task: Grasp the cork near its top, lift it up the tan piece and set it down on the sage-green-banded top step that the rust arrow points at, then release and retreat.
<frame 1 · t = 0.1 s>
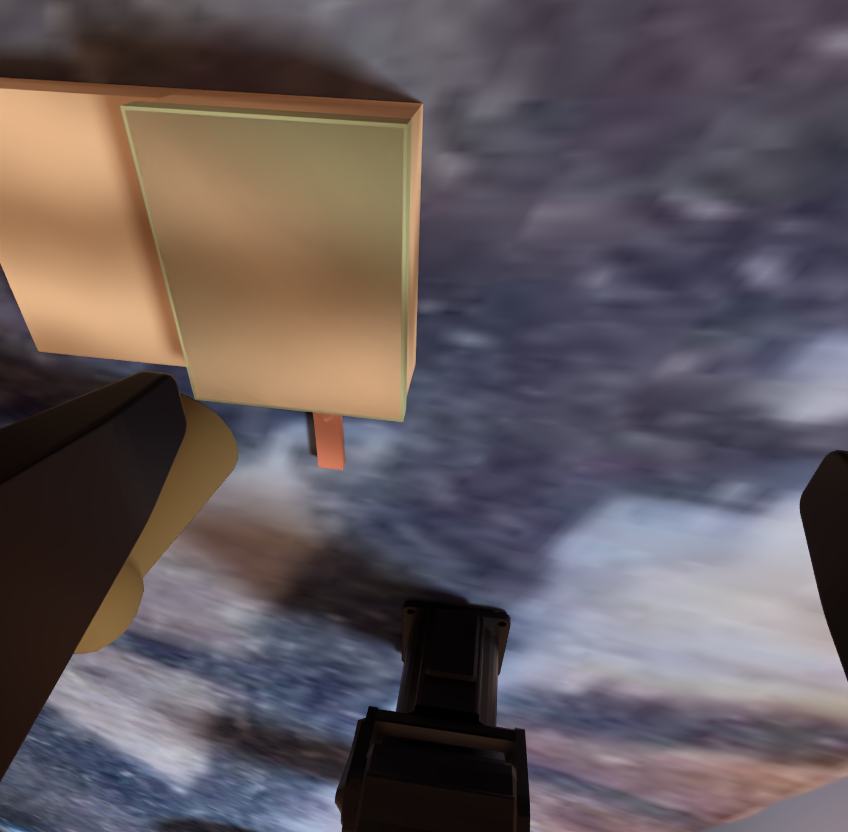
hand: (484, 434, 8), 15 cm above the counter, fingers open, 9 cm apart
tan piece: (215, 234, 22), on the counter
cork: (182, 437, 30), on the counter
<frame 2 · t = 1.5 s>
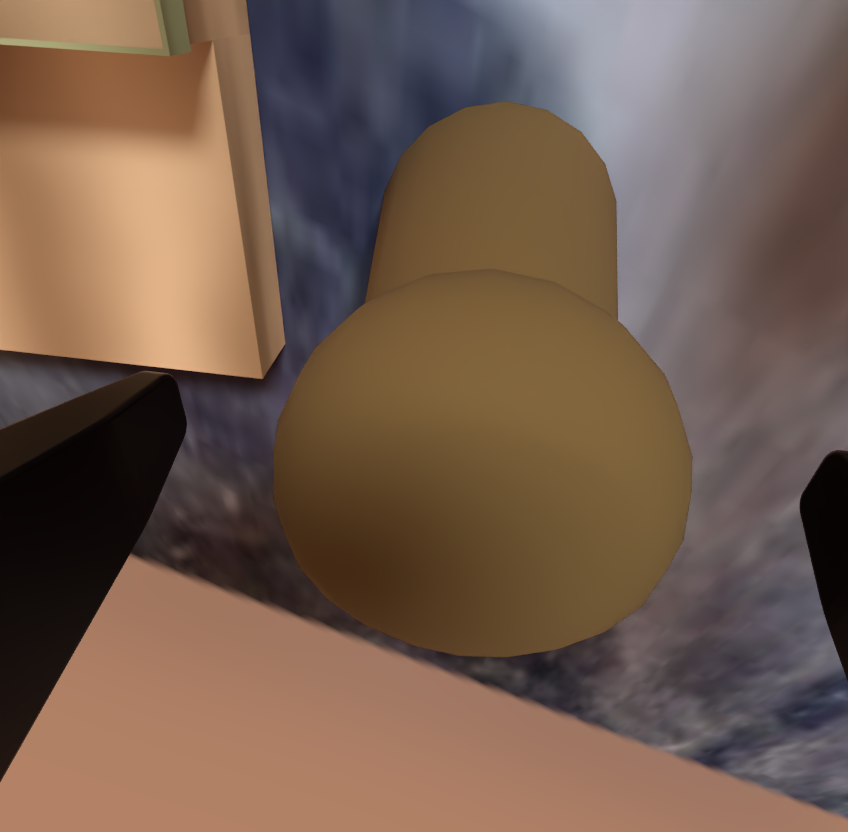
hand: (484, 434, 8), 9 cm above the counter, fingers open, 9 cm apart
tan piece: (40, 19, 13), on the counter
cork: (495, 230, 15), on the counter
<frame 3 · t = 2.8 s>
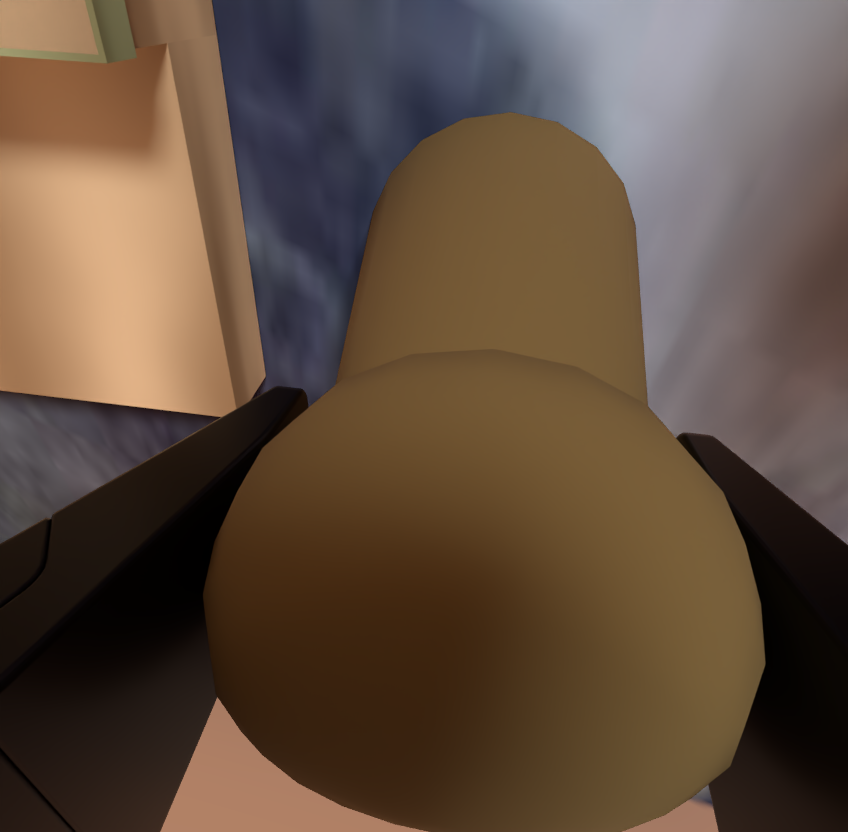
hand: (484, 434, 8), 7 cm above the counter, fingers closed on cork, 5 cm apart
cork: (497, 255, 13), on the counter, touching gripper
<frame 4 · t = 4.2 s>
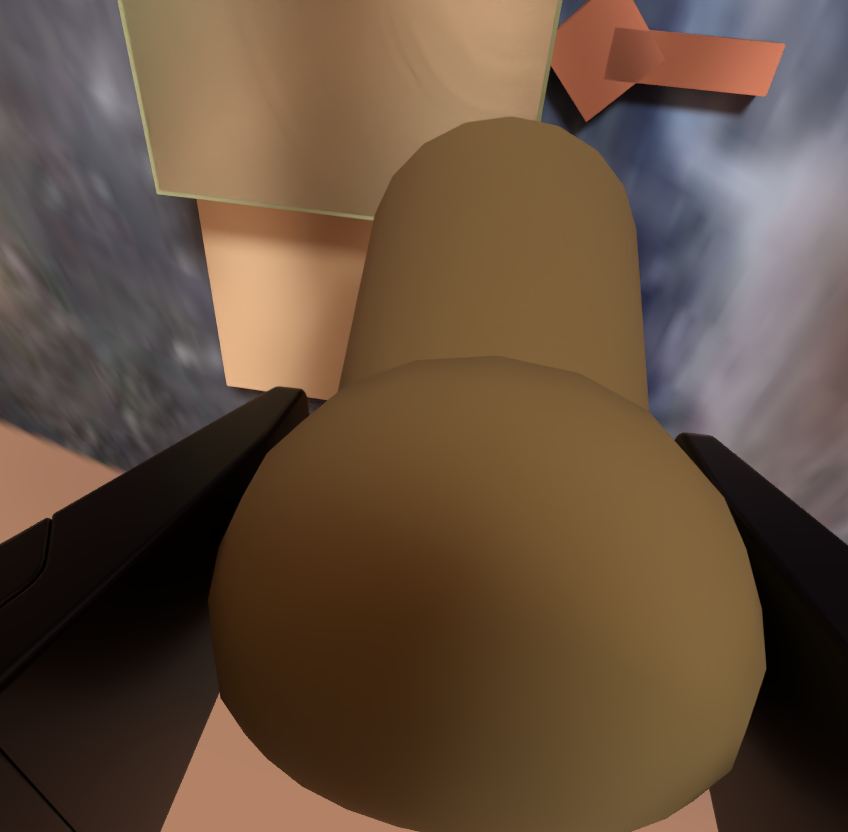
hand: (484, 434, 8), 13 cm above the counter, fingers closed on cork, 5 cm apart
tan piece: (365, 173, 19), on the counter
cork: (499, 258, 13), point 6 cm above the counter, touching gripper
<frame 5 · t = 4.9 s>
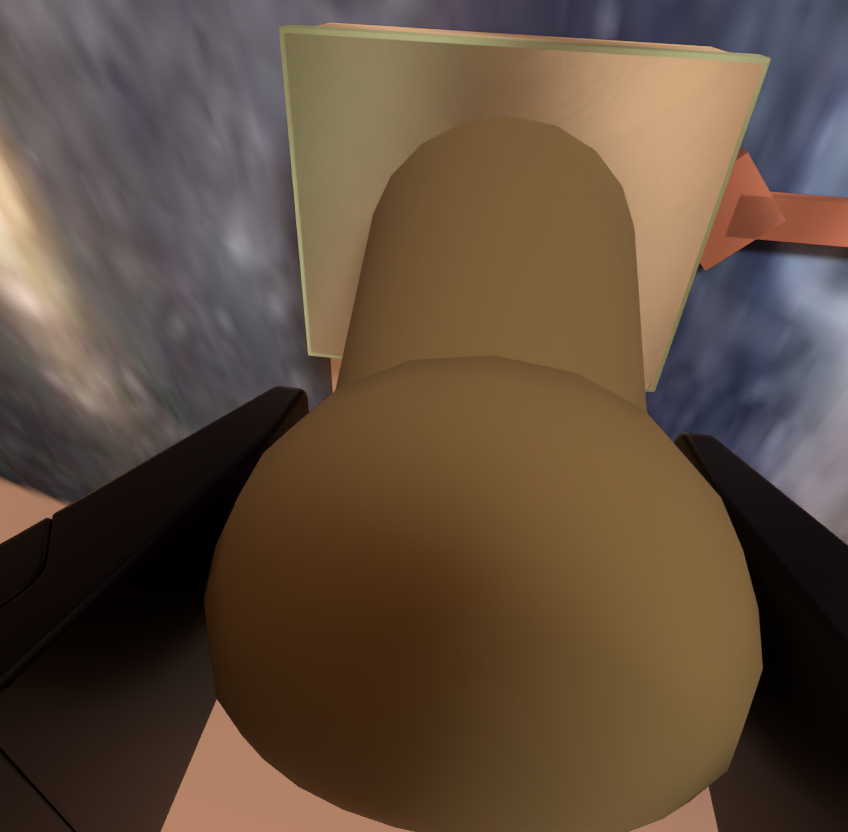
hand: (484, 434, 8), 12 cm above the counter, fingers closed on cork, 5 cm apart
tan piece: (483, 309, 20), on the counter
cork: (497, 258, 13), point 5 cm above the counter, touching gripper
when the fingers open (12 cm above the counter, at t = 5.7 s): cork drops 1 cm, resting on tan piece.
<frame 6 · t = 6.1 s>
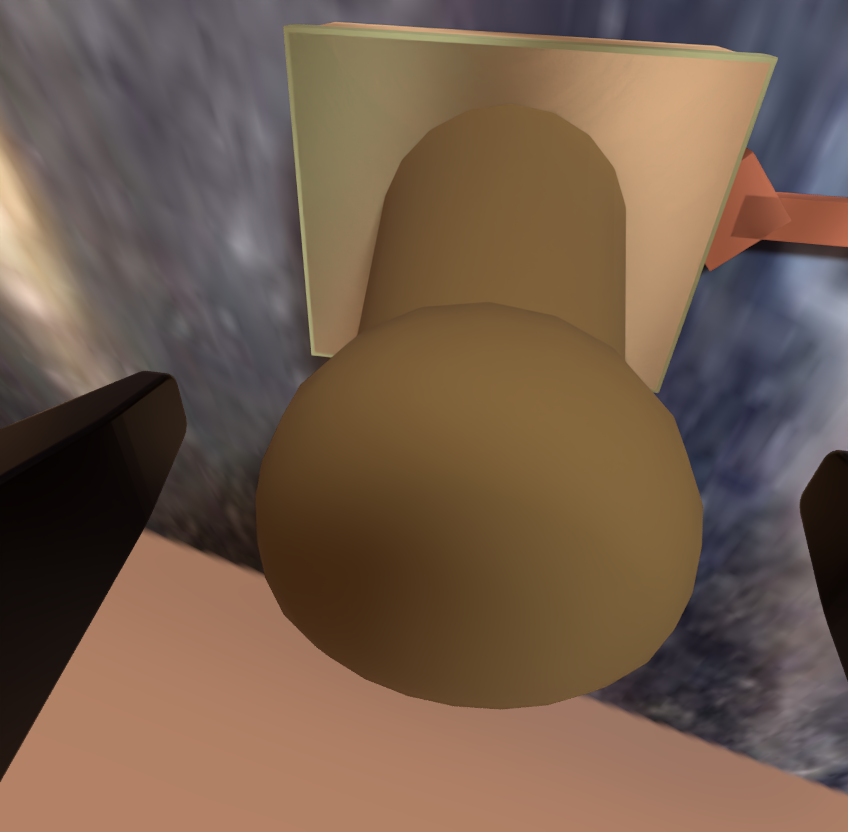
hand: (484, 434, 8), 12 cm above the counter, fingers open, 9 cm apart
tan piece: (487, 309, 20), on the counter
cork: (499, 236, 15), point 4 cm above the counter, touching tan piece
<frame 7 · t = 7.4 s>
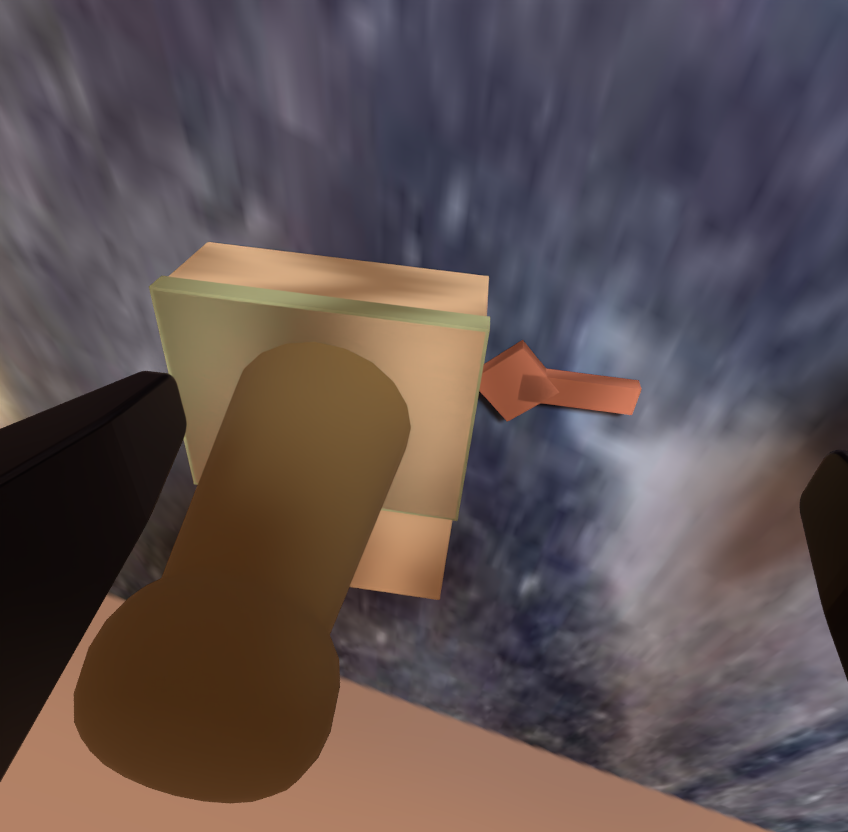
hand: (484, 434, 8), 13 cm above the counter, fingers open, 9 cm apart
tan piece: (347, 434, 25), on the counter
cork: (323, 416, 20), point 4 cm above the counter, touching tan piece
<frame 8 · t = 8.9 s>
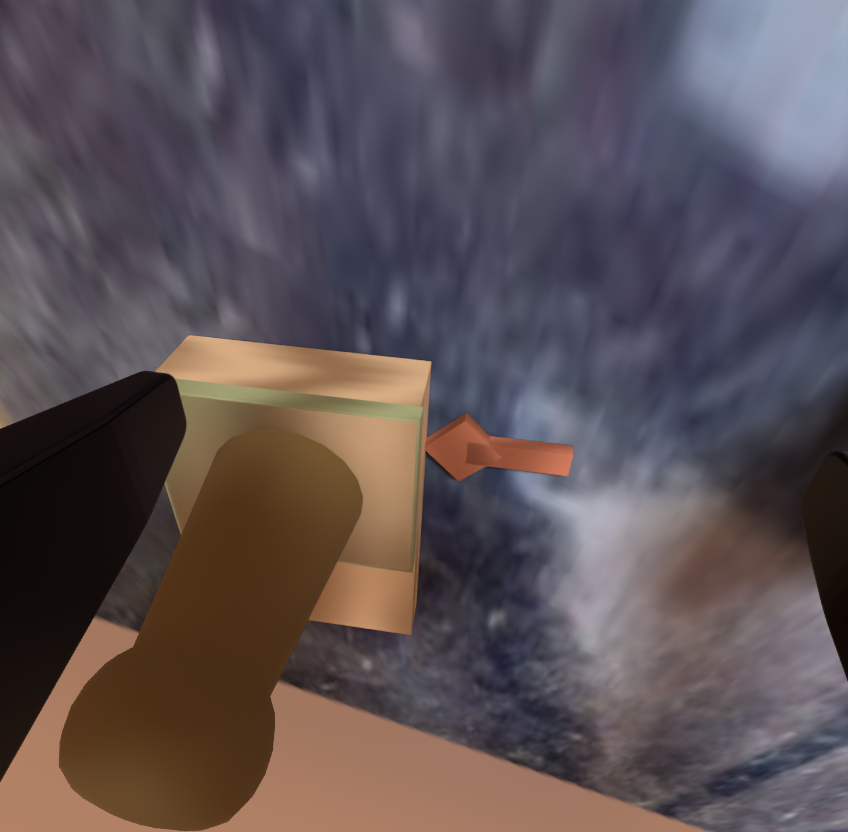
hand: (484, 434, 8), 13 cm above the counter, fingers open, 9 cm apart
tan piece: (320, 490, 28), on the counter
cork: (288, 486, 23), point 4 cm above the counter, touching tan piece
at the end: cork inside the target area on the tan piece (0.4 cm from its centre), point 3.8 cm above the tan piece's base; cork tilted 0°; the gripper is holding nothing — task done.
